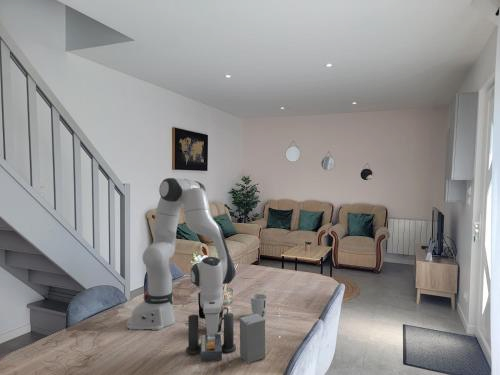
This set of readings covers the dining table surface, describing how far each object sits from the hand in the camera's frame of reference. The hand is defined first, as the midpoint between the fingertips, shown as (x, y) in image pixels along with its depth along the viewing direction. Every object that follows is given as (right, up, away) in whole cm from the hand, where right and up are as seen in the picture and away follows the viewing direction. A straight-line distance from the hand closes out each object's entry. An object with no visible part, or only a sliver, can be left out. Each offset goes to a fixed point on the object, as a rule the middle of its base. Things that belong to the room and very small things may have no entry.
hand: (211, 335), depth 131 cm
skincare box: (+16, -9, -1) cm, 18 cm away
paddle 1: (-1, -5, +8) cm, 9 cm away
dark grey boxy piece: (-1, -8, +4) cm, 9 cm away
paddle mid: (-1, -5, +4) cm, 6 cm away
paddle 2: (0, -5, 0) cm, 5 cm away
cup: (+19, -7, +38) cm, 43 cm away
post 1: (-8, -8, +4) cm, 12 cm away
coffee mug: (0, -8, +23) cm, 24 cm away
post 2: (+6, -8, +6) cm, 12 cm away
